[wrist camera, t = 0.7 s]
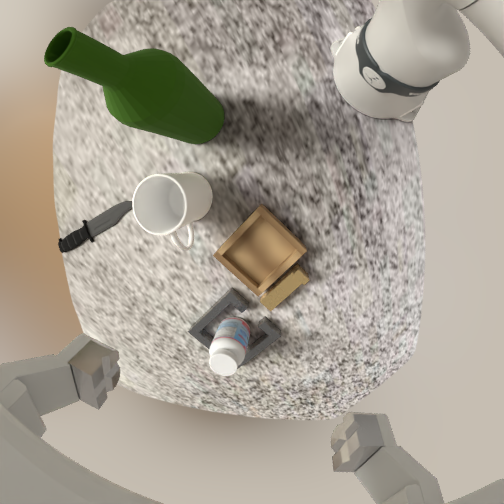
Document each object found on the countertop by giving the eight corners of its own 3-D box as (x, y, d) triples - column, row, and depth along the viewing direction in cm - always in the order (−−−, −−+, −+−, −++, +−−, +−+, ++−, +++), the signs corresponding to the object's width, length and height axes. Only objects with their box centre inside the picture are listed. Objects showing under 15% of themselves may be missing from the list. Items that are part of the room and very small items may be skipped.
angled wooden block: (297, 263, 45) (298, 269, 42) (307, 273, 46) (309, 280, 43) (260, 297, 48) (259, 305, 45) (271, 306, 48) (270, 315, 45)
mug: (221, 235, 46) (200, 256, 34) (175, 243, 47) (144, 264, 35) (207, 166, 43) (181, 164, 31) (161, 178, 44) (125, 181, 32)
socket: (231, 287, 48) (229, 291, 46) (280, 330, 49) (280, 336, 47) (191, 326, 51) (188, 331, 49) (237, 363, 53) (236, 369, 51)
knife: (133, 188, 44) (143, 214, 45) (137, 188, 45) (147, 212, 46) (55, 239, 49) (63, 259, 50) (59, 237, 50) (67, 257, 51)
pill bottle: (252, 341, 51) (244, 379, 40) (221, 341, 52) (208, 378, 41) (248, 314, 49) (239, 350, 38) (216, 315, 50) (200, 350, 39)
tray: (261, 203, 43) (260, 205, 40) (305, 246, 44) (306, 250, 42) (217, 250, 46) (213, 255, 43) (259, 289, 47) (258, 296, 45)
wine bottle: (202, 85, 39) (84, -20, 8) (236, 119, 40) (137, 16, 9) (164, 120, 41) (10, 72, 10) (195, 155, 42) (39, 135, 11)
